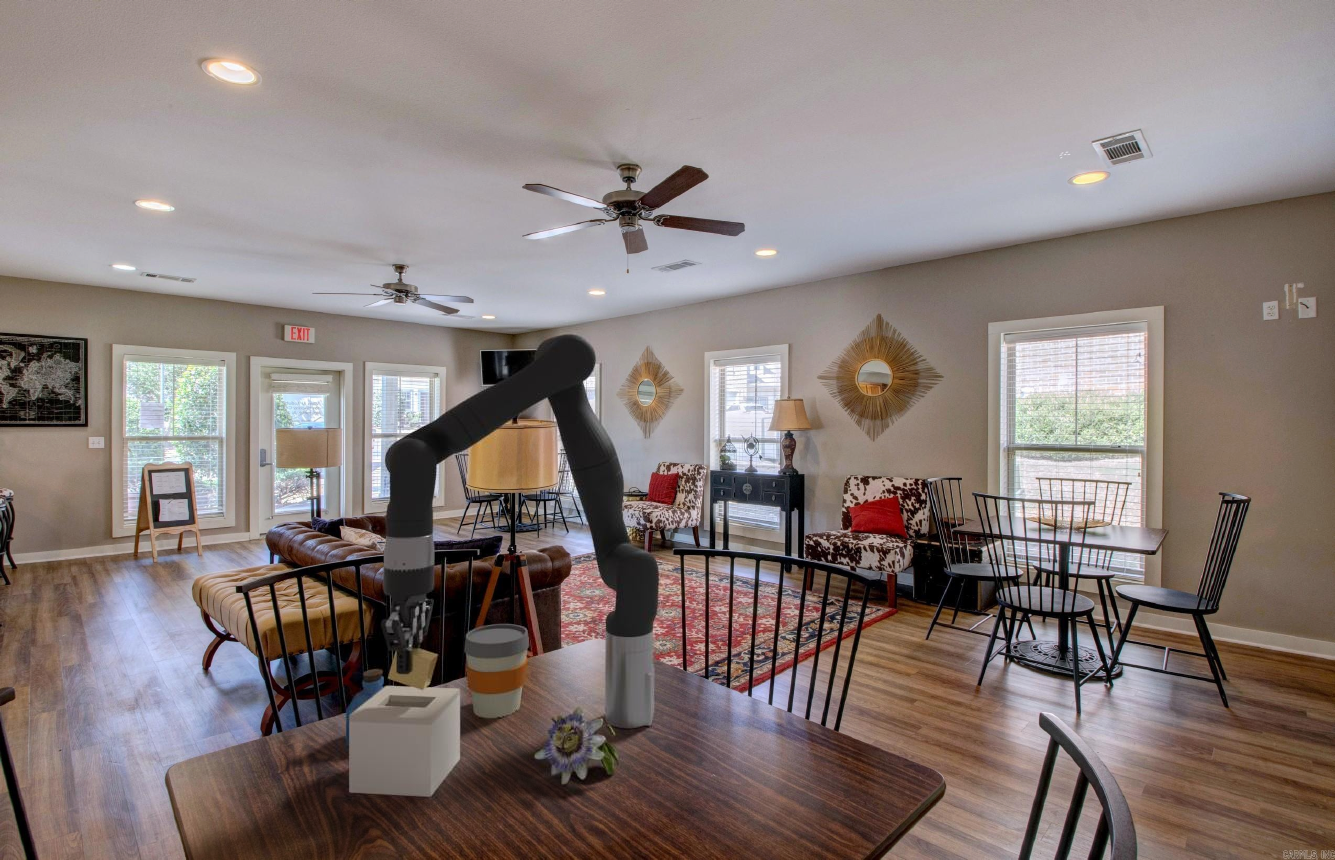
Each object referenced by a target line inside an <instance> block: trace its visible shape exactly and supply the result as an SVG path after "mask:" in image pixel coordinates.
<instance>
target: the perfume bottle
mask: <svg viewBox="0 0 1335 860" xmlns="http://www.w3.org/2000/svg"><path fill="white" fill-rule="evenodd" d="M383 672H384V671H383V669H379V668H374V669H369V670H367V671H364V672H363V679H362V687H363V690H361V691H359V692H357V693H356V694H355V695H354V696H353V699H352V700H351V702H350V703H349V705H348V707H347V708H346V711H345V726H346V727H345V745H346V746H349V715H350V714H351V713H353V712H354V711H355V710H356V709H358V708H359V707H360V706H361V705H363V704H364V703H365V702H366V701H368V700H369V699H370V698H372V697H373V696H374V695H375V694H377V693H378V692H379V691H380V690H382V689H383V688H384V687H385V686H383V685H384V676H382V675H383Z"/></svg>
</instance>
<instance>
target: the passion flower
mask: <svg viewBox="0 0 1335 860" xmlns="http://www.w3.org/2000/svg"><path fill="white" fill-rule="evenodd" d="M583 709H584V708H583V707H581V706H580V705H579V706H577V707H575V709H574V710H573V712H572V713H571V714H568V715H565V717H564V716H562V715H557V716H556V719H555V718H554V717H551V719H550V720H551V721H552V722H553V723H552V725H551V726H552V727H550V728H549V729H547V734H548V736H549V738H548V739H547V740H545V741H544V743H543V747H542V748H540V749H538V750H537V751H536V752H535V753H534V755H533V757H534V759H536V760H544V759H547V760H548V762H549V764H551V767H550V776H551V777H553V776H556V775H560V776H561V778H560V783H561V785H563V786H564V785H567V784H568V783H569V782H570V779H571V777H572V774H573V772H575V774H576V775H577V778H579V779H580V780H585V779H586V777H587V775H588V771H589V767H588V766H589V762H590V760H592V761H600V762H601V764H602V765H603V767H604V770H605V771H606V773H607V775H611V776H613V775H614V774H615V765H614V763H615V762H616V765H617V766H619V765H620V761H619V757H618V753H617V752H616V748H615V747H614V746H613V745H612V744H611V743H610V742H608V741H607V739H606V737H605V736H604V735H601V734H599V733H596V732H597V731H598V730H601V729H602V728H604V727H606V728H607V730H608V731H609V732H610V733H611V734H610V735H611V737H612V738H614V737H615V736H616V733H615V732H614V730H613V728H612V727H611V725H610V724H609V723H606V724H604V719H603V718H598V719H593V720H591V721H589V722H588V721H587V722H585V721H586V720H585V719H584V711H583ZM603 724H604V725H603Z"/></svg>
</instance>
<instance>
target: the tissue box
mask: <svg viewBox="0 0 1335 860" xmlns="http://www.w3.org/2000/svg"><path fill="white" fill-rule="evenodd" d="M383 687H384V688H383V689H382V690H380V691H379V692H378V693H377V694H375V695H374V696H373V697H372V698H370V699H369V700H368V701H366V702H365V703H364V704H363V705H361V706H360V707H359V708H358V709H356V710H355V711H354V712H353V713H351V714H350V715H349V745H348V747H349V748H348V753H349V755H348V757H349V759H348V760H349V762H348V764H349V765H348V769H349V770H348V773H349V774H348V783H349V788H348V791H349V793H351V794H353V793H354V794H374V795H389V796H390V795H392V796H407V797H409V796H410V797H413V796H414V797H427V798H429V797H430V798H431V797H432V796H433V795H434V793H435V792H436V790H437V789H438V788H439V787H440V785H441V784H442V783H443V782H444V780H445V779H446V778H447V777H448V776H449V774H450V773H451V771H452V770H453V768H454V767H456V765H457V763H458V762H459V761H460V760H461V688H454V687H453V688H452V687H451V688H450V687H449V688H448V687H430V686H427V687H426V688H425V689H424V690H421V689H418V688H415V687H412V686H406V685H405V686H400V685H398V686H397V685H385V686H383Z"/></svg>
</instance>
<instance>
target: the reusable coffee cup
mask: <svg viewBox="0 0 1335 860" xmlns="http://www.w3.org/2000/svg"><path fill="white" fill-rule="evenodd" d="M529 647H530V641H529V633H528V629H527V628H526V627H525V626H522V625H518V624H512V623H497V624H496V623H495V624H489V625H482V626H479V627H476V628H474V629H471V630H470V631H468V632H466V634H465V643H464V653H465V655H466V663H465V670H466V671H465V673H466V678H467V687H468V688H469V690H470V693H471V699H472V708H473V713H474V714H475V715H476V716H478V717H481V718H485V719H498V718H497V717H500V718H503V716H504V717H507V715H508V716H510V715H513V714H514V713H516V712H517V711H518V710H519V709H520V706H521V698H522V693H523V692H522V690H523V686H524V684H525V683H526V677H527V670H528V669H527V668H528V663H529V662H528V661H529V659H528V657H527V652H528V648H529ZM516 710H517V711H516ZM515 711H516V712H515ZM513 712H514V713H513ZM512 713H513V714H512Z"/></svg>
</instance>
